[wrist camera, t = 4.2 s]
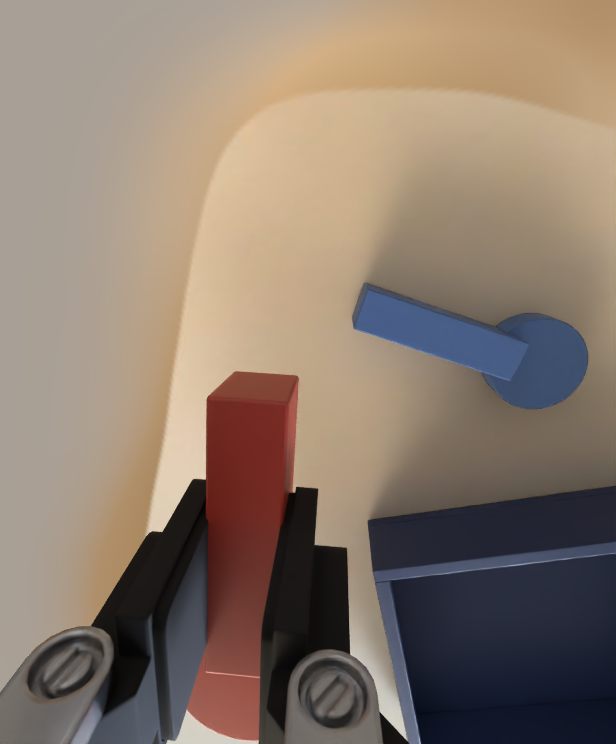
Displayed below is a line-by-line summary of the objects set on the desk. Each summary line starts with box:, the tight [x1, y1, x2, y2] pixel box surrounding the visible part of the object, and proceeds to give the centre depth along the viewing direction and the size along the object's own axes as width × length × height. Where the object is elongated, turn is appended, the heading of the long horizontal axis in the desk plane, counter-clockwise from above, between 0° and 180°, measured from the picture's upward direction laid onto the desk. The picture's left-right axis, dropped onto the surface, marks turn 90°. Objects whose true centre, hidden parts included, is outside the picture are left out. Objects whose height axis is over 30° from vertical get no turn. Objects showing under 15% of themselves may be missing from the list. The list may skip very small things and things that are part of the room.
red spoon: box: [187, 371, 299, 741], centre depth 10 cm, size 10×4×2 cm, turn 177°
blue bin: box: [368, 486, 616, 744], centre depth 21 cm, size 13×13×4 cm
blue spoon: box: [352, 283, 588, 409], centre depth 18 cm, size 10×4×2 cm, turn 72°
